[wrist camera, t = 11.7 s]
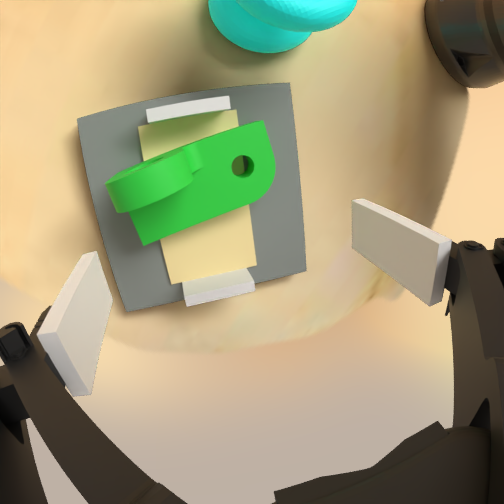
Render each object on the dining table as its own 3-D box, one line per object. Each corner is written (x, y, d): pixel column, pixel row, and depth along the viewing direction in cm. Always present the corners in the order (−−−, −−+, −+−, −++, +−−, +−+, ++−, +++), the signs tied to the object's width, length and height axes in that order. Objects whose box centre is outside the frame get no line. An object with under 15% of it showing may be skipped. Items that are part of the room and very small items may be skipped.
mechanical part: (145, 237, 26) (138, 279, 18) (117, 172, 23) (96, 190, 16) (276, 186, 27) (316, 208, 20) (256, 121, 24) (292, 117, 17)
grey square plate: (281, 85, 26) (303, 77, 21) (298, 263, 33) (319, 284, 29) (83, 119, 23) (65, 117, 18) (128, 301, 30) (123, 330, 25)
